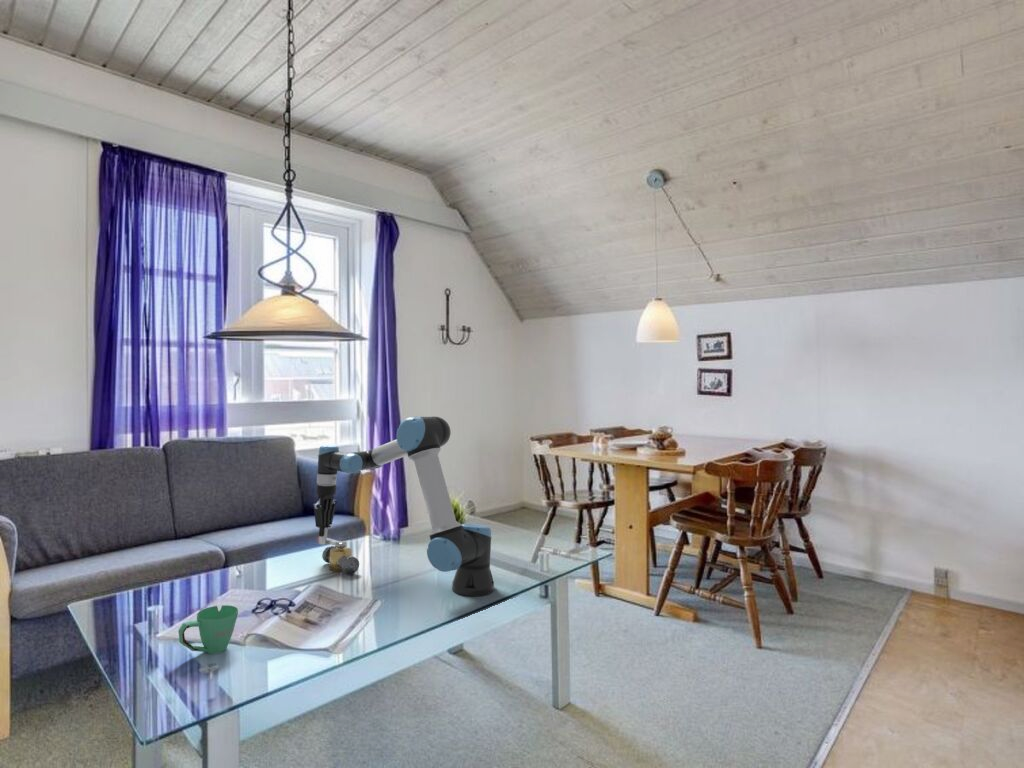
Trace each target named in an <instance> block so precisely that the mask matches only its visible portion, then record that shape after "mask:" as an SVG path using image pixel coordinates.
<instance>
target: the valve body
mask: <svg viewBox="0 0 1024 768" xmlns="http://www.w3.org/2000/svg"><path fill="white" fill-rule="evenodd" d="M321 556H322V560H323V561H324V562H325V563H327V564H329V569H328V570H329V571H330V572H331V571H332V573H344V574H345V575H347V576H351V575H354V574H355V573H357V572H358V570H359V568H360V561H359V559H358V558H357V557H356V556H352V548H351V547H348V546H347V547H344V548H337V547H335V545H329V546H327V547H326V548H325V549H324V550H323V551H322V554H321Z"/></svg>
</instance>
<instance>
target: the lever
mask: <svg viewBox="0 0 1024 768" xmlns="http://www.w3.org/2000/svg"><path fill="white" fill-rule="evenodd" d="M317 542H318V543H319V536H318V537H317ZM327 544H329V545H330V546H334V547H336V548H344V547H347V548H348V542H347V541H345V540H343V541H341V540H336V539H333V538H330V537H328V536H327Z"/></svg>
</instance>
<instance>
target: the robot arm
mask: <svg viewBox="0 0 1024 768" xmlns="http://www.w3.org/2000/svg"><path fill="white" fill-rule="evenodd" d="M451 434H452V433H451V427H450V425H449V423H448V422H447V421H446V420H445V419H444V418H442V417H440V416H413V417H412V416H411V417H407V418H405V419H404V420H403V421H402V422H400V424H399V426H398V428H397V430H396V439H393V440H392V441H389V442H387V443H384V444H381V445H379V446H376V447H373V448H372V449H369V450H363V451H352V452H351V451H349V452H343V451H340V450H339V446H338V445H334V444H332V445H331V444H330V445H329V444H328V445H327V444H325V445H320V446H319V450H318V455H317V457H318V458H317V474H316V484H317V485H316V490H315V491H316V492H315V493H316V496H317V495H318V497H317V500H316V503H313V504H312V508H313V512H314V520H315V521H314V523H315V527H316V528H318V529H319V531H318V537H319V542H318V545H323V546H325V545H327V544H328V543H327V537H328V534H329V528H331V526H332V525H333V520H334V516H335V513H336V512H335V511H336V507H337V505H338V504H337V503H338V500H337V499H335V497H334V495H335V496H336V493H337V481H338V480H337V476H338V472H340V473H346V474H357V473H359V471H365V470H377V469H380V468H382V467H383V465H386V464H388V463H391V462H394V461H397V460H399V459H401V458H404V457H408V459H409V460H411V461H412V462H413V463H414V465H415V469H416V472H417V473H416V474H417V477H418V481H419V484H420V489H421V493H422V496H423V499H424V503H425V507H426V511H427V514H428V519H429V522H430V525H431V531H430V533H429V539H430V541H429V542H428V544H427V548H426V555H427V559H428V561H429V563H430V564H431V566H432V567H433V568H435V569H436V570H437V571H439V572H442V573H443V572H445V573H448V572H450V571H452V572H453V571H455V574H454V577H453V580H452V583H451V590H452V591H453V592H454V593H455V594H458V595H462V596H468V597H479V596H485V595H489V594H491V593H493V592H494V591H495V582H494V578H493V575H492V570H491V551H492V550H491V547H492V546H491V545H492V530H491V528H490V527H489V526H487V525H483V524H477V523H460V522H459V521H457V519H456V515H455V512H454V508H453V504H452V502H451V501H452V500H451V498H450V493H449V490H448V487H447V482H446V479H445V476H444V472H443V469H442V465H441V461H440V457H439V453H440V452H441V450H442V449H441V447H443V446H445V445H446V444H448V442H449V441H450V437H451Z"/></svg>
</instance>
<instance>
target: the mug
mask: <svg viewBox="0 0 1024 768" xmlns="http://www.w3.org/2000/svg"><path fill="white" fill-rule="evenodd" d="M238 614H239V608H238V607H236V606H233V605H229V604H228V605H226V604H225V605H224V604H222V605H221V607H220V610H219V608H218V605H214V606H209V607H205V608H204V609H201V610H199V611H198V612H197V613H196V620H190V621H186V622H183V623H182V624H181V626H180V627H179V628H178V638H179V639H178V640H179V643H180V644H181V645H182V646H185V647H186V648H188V649H189V650H190V651H192V652H203V653H206V654H208V655H209V654H211V655H213V654H214V655H215V654H221V653H223V652H225V651H226V650H227V648H228V646H229V643H230V642H231V639H232V635H233V632H234V630H235V625H236V622H237V619H238ZM194 627H197V628H198V631H199V636H200V637H199V638H200V640H201V643H202V646H197V645H192V644H191V643H190V642H188V641H187V639H186V637H185V636H186V635H185V631H186V630H187V629H190V628H194Z"/></svg>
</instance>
